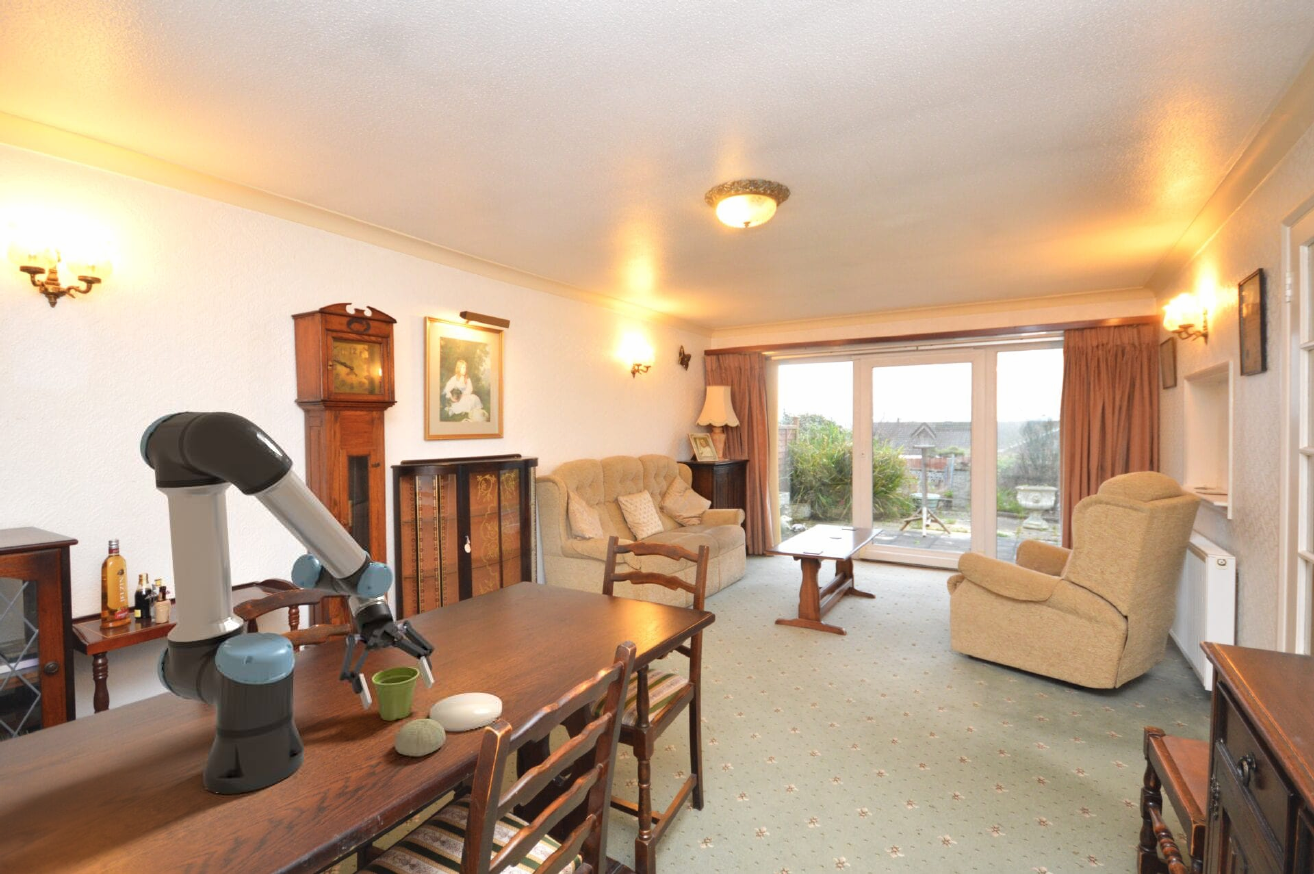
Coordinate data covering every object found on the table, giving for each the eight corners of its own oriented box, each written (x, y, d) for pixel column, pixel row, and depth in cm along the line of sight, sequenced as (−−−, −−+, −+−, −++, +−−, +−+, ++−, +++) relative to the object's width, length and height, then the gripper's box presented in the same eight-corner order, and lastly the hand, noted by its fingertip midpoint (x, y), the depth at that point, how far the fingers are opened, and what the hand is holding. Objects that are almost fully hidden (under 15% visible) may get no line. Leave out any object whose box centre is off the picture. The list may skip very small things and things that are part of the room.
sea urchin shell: (418, 756, 112) (399, 718, 115) (399, 777, 115) (381, 739, 118) (458, 735, 119) (439, 700, 122) (439, 755, 122) (421, 720, 125)
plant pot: (401, 727, 126) (402, 685, 126) (361, 722, 128) (362, 681, 128) (427, 707, 136) (427, 668, 135) (389, 703, 137) (390, 664, 137)
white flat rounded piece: (452, 739, 122) (452, 731, 122) (416, 715, 132) (416, 708, 132) (515, 713, 133) (515, 706, 133) (478, 693, 143) (478, 687, 143)
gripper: (417, 608, 152) (447, 686, 142) (307, 632, 133) (334, 723, 123) (428, 591, 148) (460, 669, 138) (316, 613, 129) (344, 705, 119)
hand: (400, 695), depth 131 cm, fingers open, 13 cm apart
